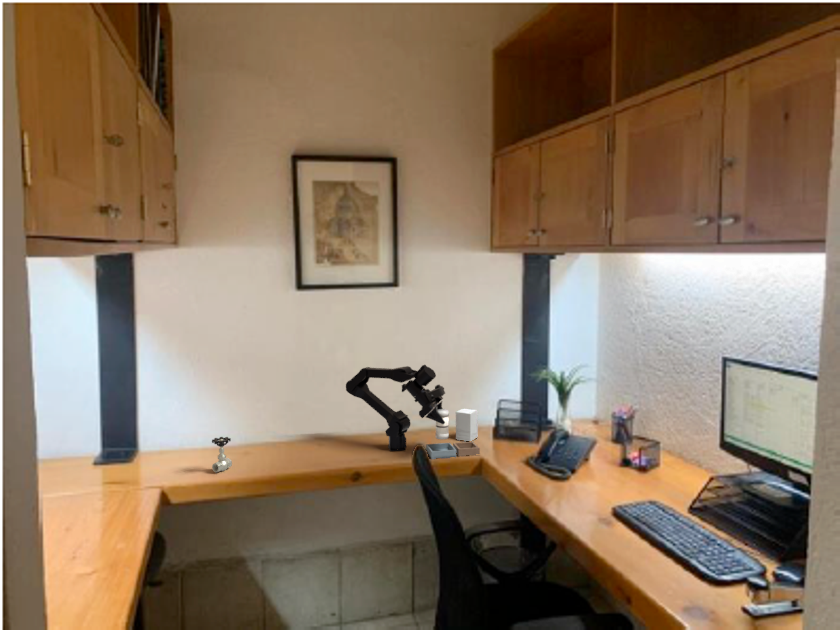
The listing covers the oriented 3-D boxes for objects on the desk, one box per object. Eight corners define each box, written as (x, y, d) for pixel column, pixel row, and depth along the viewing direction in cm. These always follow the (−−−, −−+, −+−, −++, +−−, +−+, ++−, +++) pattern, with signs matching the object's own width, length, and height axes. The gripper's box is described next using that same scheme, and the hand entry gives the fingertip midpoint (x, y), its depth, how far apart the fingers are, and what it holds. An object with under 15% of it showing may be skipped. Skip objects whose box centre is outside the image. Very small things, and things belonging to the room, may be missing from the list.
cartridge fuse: (437, 439, 252) (437, 412, 251) (434, 436, 257) (434, 409, 256) (450, 439, 254) (450, 411, 252) (446, 435, 259) (446, 408, 257)
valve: (209, 472, 236) (208, 440, 235) (222, 466, 242) (221, 435, 241) (222, 474, 233) (221, 442, 232) (235, 469, 239) (234, 438, 237)
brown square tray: (458, 456, 253) (458, 449, 252) (453, 450, 261) (453, 443, 261) (479, 455, 255) (479, 447, 254) (473, 448, 263) (473, 441, 263)
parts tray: (431, 459, 250) (431, 451, 249) (426, 451, 259) (426, 444, 259) (456, 457, 252) (456, 450, 252) (449, 449, 262) (449, 442, 261)
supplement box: (478, 438, 278) (478, 410, 276) (470, 442, 271) (470, 413, 270) (463, 435, 282) (463, 407, 280) (455, 440, 275) (455, 411, 274)
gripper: (427, 384, 245) (455, 414, 243) (438, 375, 263) (464, 403, 261) (407, 403, 248) (434, 433, 246) (419, 392, 266) (445, 420, 264)
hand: (445, 421), depth 254 cm, fingers closed on cartridge fuse, 5 cm apart
